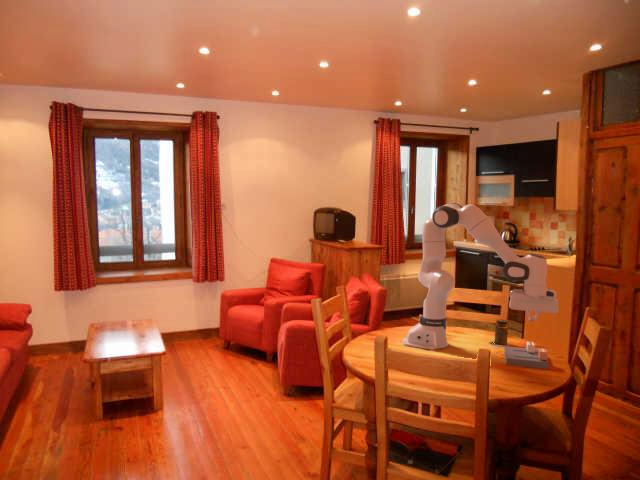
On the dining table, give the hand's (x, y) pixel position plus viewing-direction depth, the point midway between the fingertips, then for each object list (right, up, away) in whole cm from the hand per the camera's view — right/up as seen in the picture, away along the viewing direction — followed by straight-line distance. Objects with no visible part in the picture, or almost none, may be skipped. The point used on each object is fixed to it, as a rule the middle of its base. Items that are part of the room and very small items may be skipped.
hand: (532, 320), depth 220 cm
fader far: (+3, -15, +8) cm, 18 cm away
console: (-1, -19, +6) cm, 20 cm away
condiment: (-4, -17, +30) cm, 35 cm away
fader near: (+4, -16, -1) cm, 17 cm away
